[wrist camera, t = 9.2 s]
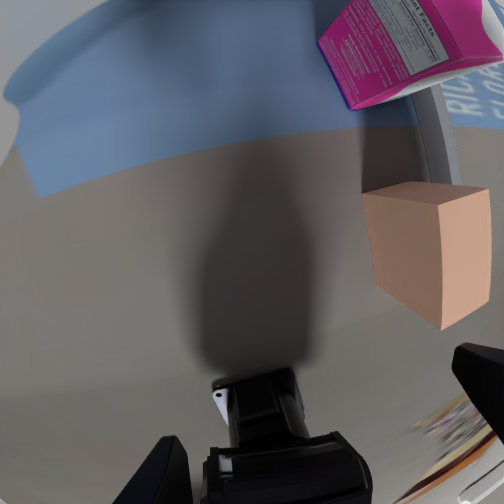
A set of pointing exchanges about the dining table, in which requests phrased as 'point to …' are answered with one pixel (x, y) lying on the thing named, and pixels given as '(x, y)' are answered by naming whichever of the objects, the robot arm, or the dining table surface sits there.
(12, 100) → the dining table surface
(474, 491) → the white chamfered bar
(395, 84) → the supplement box
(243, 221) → the dining table surface
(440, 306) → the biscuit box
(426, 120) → the curved grey bar
